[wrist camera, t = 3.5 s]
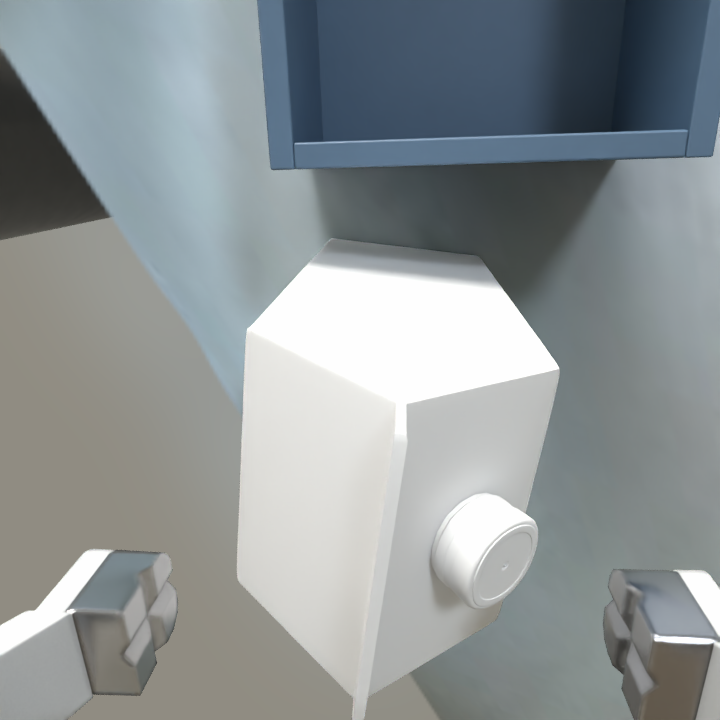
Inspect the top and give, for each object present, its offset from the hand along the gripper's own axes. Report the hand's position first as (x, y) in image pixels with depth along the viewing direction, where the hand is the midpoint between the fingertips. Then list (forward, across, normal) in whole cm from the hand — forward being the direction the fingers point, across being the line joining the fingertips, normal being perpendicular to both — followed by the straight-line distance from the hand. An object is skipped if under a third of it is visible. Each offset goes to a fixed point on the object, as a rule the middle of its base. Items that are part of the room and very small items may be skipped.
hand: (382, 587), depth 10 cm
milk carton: (+19, 0, 0) cm, 19 cm away
